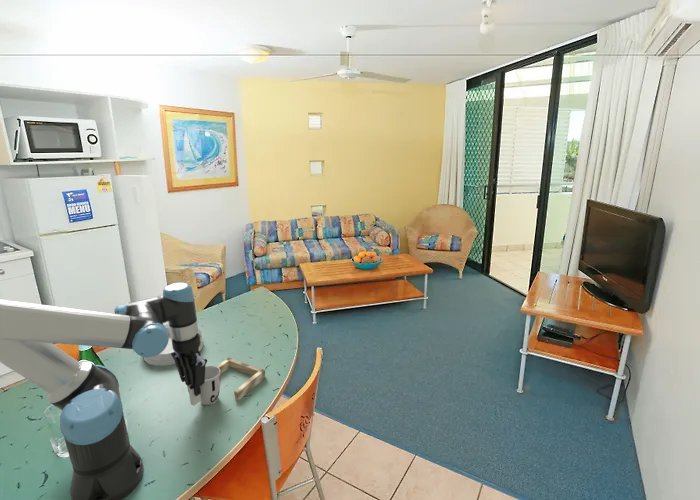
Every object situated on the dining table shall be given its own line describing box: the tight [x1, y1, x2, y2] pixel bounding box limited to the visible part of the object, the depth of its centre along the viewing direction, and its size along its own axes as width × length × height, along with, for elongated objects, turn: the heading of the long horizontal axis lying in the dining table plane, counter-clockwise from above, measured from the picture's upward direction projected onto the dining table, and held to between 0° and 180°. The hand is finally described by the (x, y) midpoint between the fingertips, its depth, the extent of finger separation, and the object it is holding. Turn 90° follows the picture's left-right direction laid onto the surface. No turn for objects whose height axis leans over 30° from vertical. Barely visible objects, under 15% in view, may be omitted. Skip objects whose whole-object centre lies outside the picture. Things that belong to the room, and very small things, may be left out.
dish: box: [142, 327, 204, 366], centre depth 148 cm, size 22×22×5 cm
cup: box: [200, 365, 221, 406], centre depth 118 cm, size 8×8×10 cm
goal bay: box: [216, 357, 266, 401], centre depth 129 cm, size 14×17×3 cm
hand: (196, 402), depth 114 cm, fingers closed
